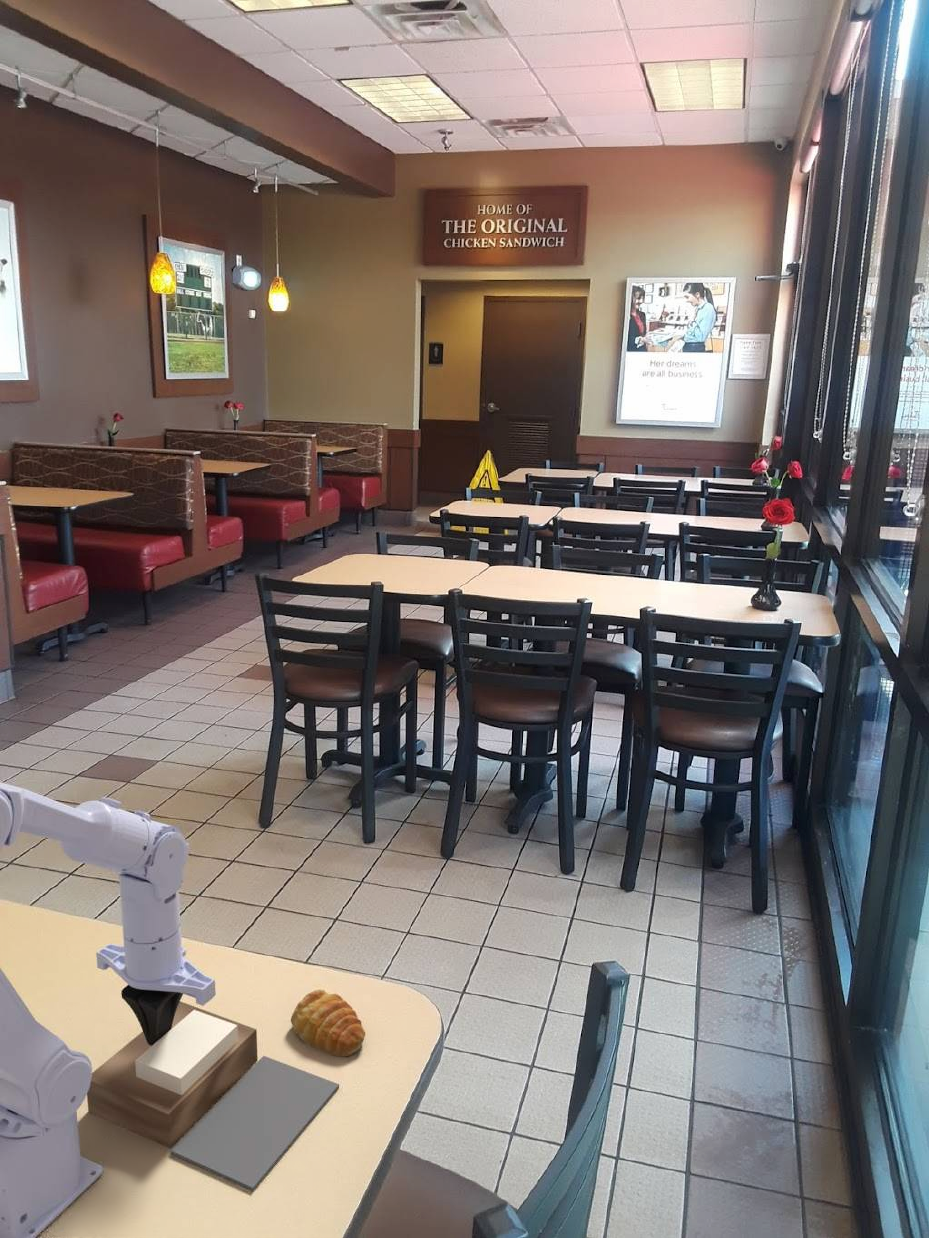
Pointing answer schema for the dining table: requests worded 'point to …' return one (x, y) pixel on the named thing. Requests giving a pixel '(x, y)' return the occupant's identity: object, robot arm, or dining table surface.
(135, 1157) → the dining table surface
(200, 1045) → the block
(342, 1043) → the pastry
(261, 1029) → the dining table surface
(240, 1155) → the mat
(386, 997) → the dining table surface
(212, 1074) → the brown wooden block
